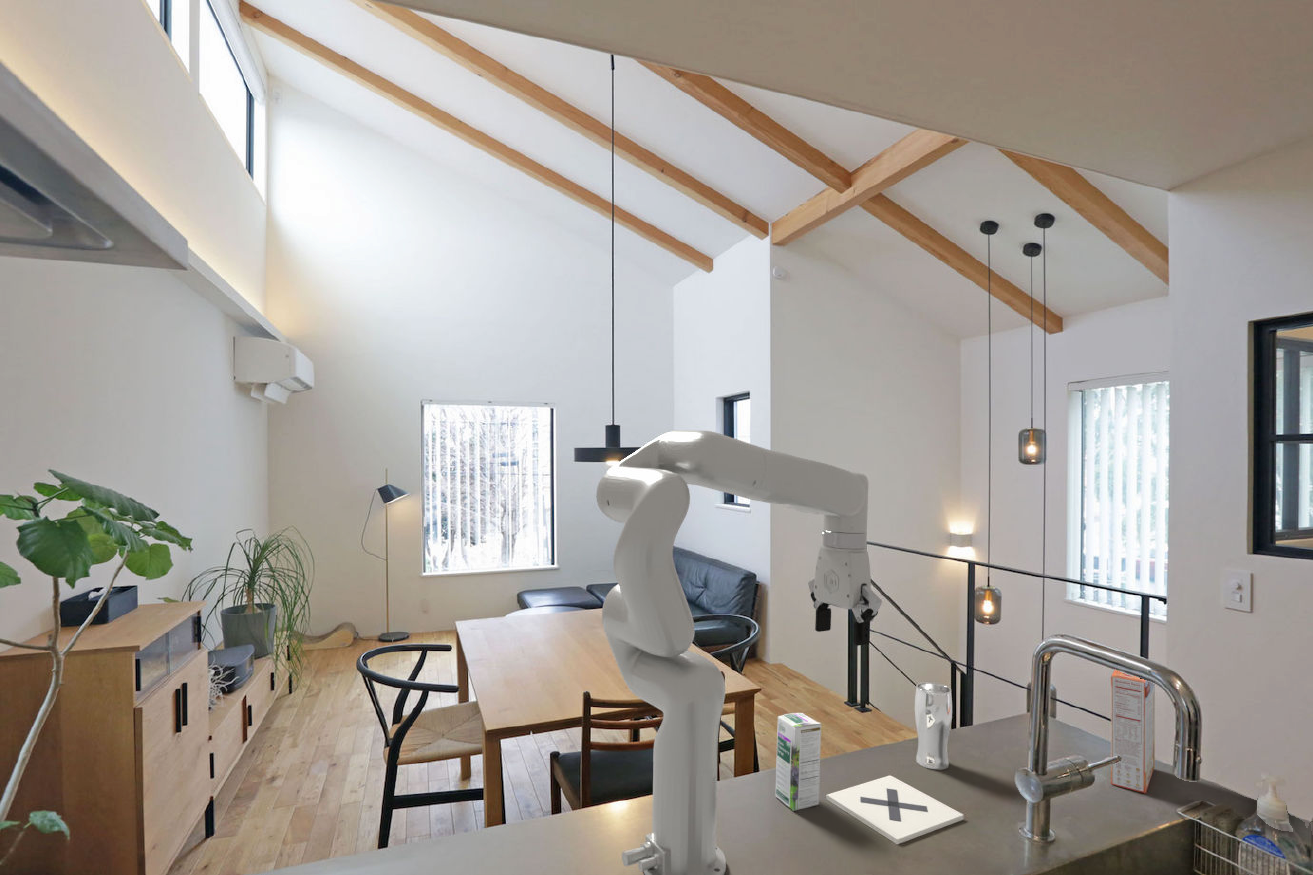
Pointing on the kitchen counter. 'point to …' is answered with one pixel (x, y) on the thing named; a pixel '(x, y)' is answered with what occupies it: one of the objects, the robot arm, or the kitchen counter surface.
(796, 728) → the syrup box
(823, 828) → the kitchen counter surface
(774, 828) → the kitchen counter surface
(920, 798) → the letter placard
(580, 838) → the kitchen counter surface
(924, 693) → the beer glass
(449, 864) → the kitchen counter surface
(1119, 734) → the cracker box
